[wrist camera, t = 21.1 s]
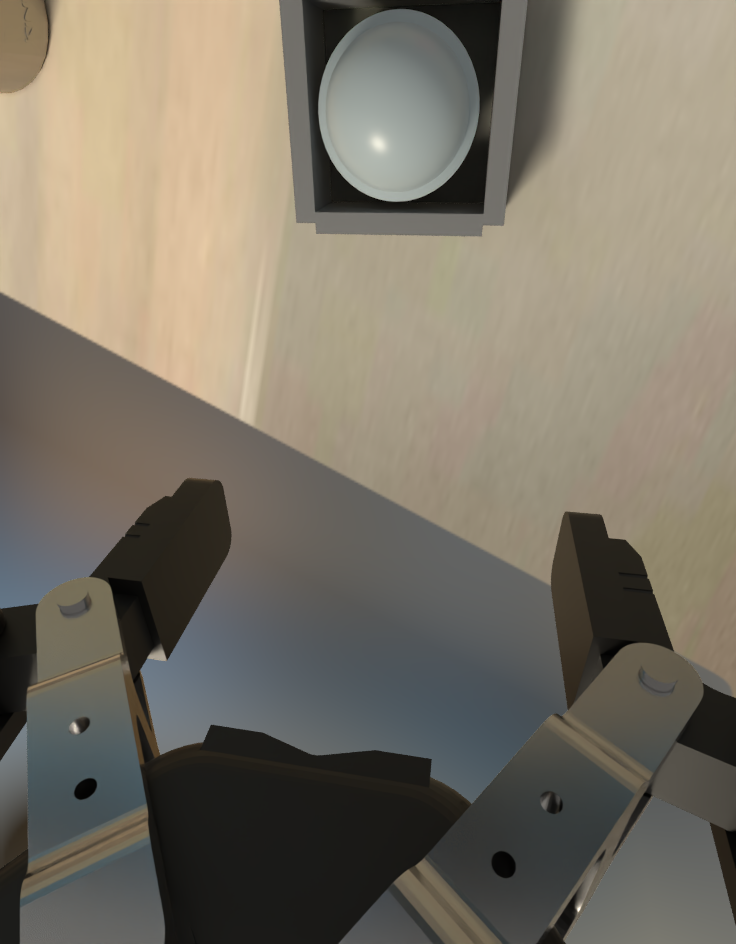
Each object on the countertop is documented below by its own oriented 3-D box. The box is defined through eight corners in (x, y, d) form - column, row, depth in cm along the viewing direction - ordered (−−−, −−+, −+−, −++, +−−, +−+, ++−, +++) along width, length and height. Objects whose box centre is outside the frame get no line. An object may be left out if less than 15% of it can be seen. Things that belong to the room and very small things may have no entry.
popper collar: (315, 220, 39) (297, 233, 35) (300, -17, 32) (276, -33, 28) (500, 223, 37) (502, 236, 33) (526, -29, 30) (532, -48, 26)
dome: (337, 192, 36) (306, 211, 30) (330, 22, 32) (291, 1, 25) (473, 193, 35) (470, 212, 29) (486, 15, 30) (487, -9, 24)
